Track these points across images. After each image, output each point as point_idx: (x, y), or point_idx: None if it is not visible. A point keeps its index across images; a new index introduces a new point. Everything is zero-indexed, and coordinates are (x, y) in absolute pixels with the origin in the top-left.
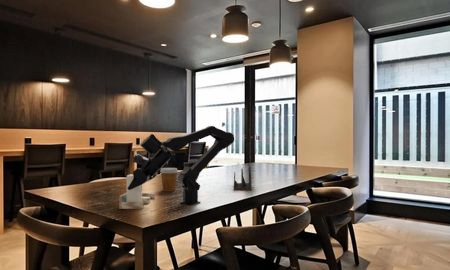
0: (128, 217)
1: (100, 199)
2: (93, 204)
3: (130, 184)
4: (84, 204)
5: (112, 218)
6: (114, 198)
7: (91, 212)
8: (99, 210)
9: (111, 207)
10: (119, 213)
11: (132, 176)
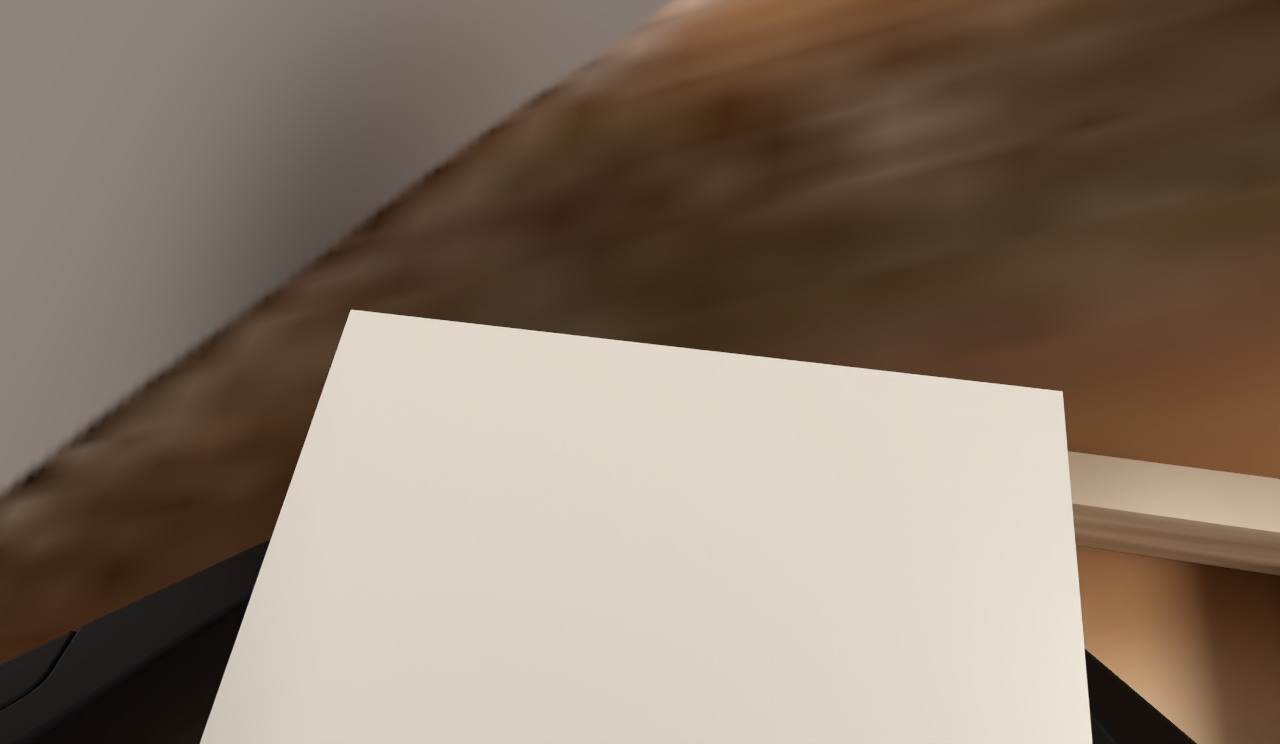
0: (27, 637)
1: (1134, 76)
2: (821, 88)
3: (192, 592)
4: (825, 10)
5: (71, 451)
6: (1239, 220)
7: (421, 179)
8: (494, 228)
9: (628, 317)
10: (273, 483)
11: (259, 651)
